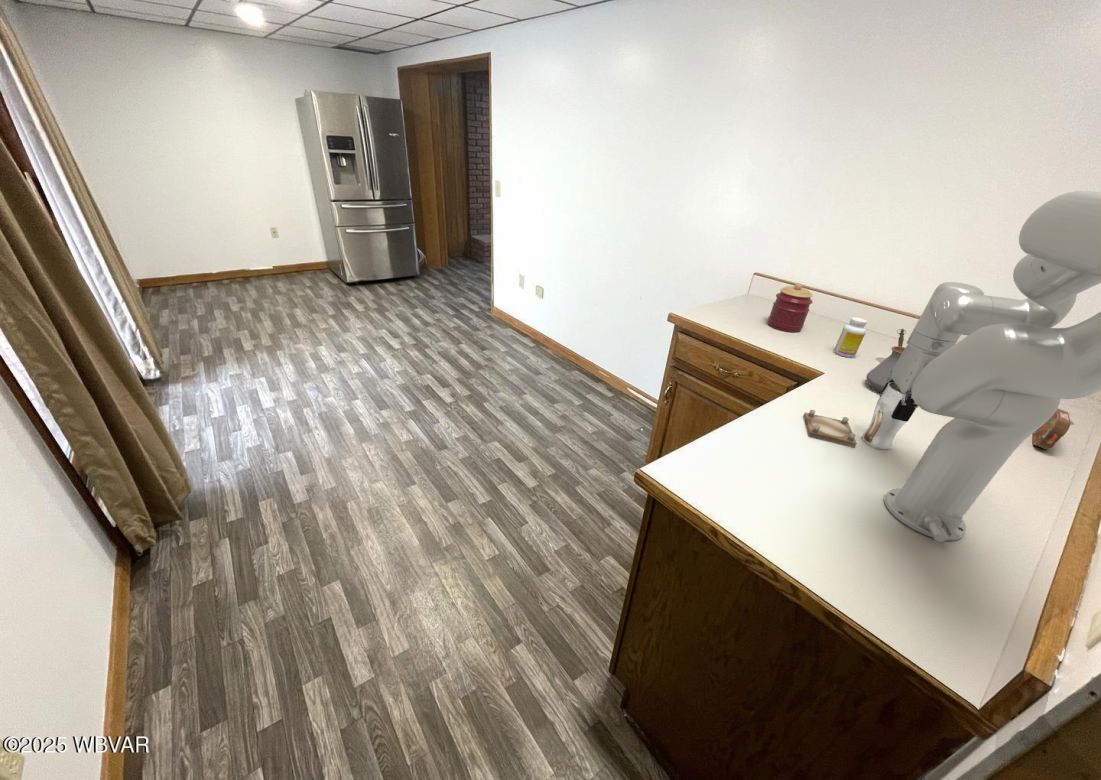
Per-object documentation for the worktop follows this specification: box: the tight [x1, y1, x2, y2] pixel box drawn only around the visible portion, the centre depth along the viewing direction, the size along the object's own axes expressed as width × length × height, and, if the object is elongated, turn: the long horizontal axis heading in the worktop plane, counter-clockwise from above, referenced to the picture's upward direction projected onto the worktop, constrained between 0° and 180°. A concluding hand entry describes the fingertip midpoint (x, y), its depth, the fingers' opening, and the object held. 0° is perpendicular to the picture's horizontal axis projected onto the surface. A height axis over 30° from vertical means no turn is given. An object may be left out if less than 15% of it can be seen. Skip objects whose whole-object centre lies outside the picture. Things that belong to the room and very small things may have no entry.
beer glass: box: [861, 382, 917, 451], centre depth 101 cm, size 7×7×15 cm
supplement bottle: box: [833, 316, 868, 358], centre depth 149 cm, size 7×7×13 cm
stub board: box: [803, 409, 858, 448], centre depth 107 cm, size 10×10×3 cm
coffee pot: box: [866, 328, 907, 394], centre depth 130 cm, size 21×12×15 cm, turn 149°
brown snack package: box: [1031, 407, 1071, 450], centre depth 108 cm, size 15×3×8 cm, turn 135°
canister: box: [767, 283, 813, 333], centre depth 168 cm, size 13×13×18 cm
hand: (892, 408), depth 100 cm, fingers open, 9 cm apart
